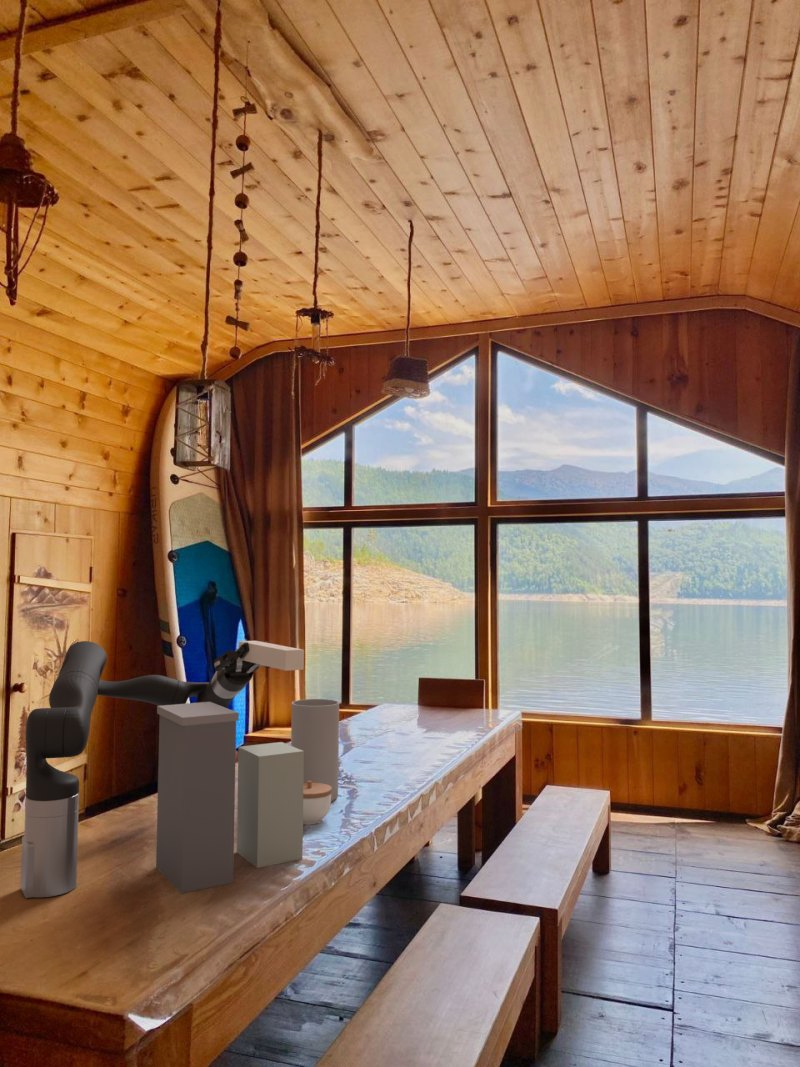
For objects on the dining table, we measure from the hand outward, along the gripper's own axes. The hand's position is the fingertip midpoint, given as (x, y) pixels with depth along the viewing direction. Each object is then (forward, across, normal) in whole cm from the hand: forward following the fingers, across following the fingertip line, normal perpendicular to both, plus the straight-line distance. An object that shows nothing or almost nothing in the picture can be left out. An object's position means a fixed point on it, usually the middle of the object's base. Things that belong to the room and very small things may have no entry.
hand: (257, 645), depth 179 cm
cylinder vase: (-44, +28, +24) cm, 58 cm away
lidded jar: (-30, +18, +33) cm, 48 cm away
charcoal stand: (-12, -17, +43) cm, 47 cm away
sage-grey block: (-14, 0, +41) cm, 44 cm away
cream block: (+4, 0, +6) cm, 7 cm away
